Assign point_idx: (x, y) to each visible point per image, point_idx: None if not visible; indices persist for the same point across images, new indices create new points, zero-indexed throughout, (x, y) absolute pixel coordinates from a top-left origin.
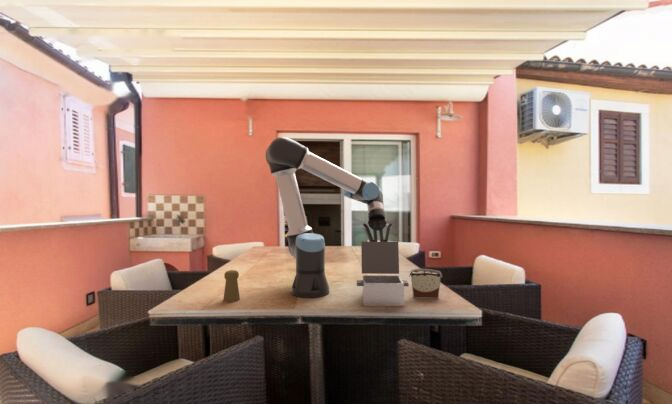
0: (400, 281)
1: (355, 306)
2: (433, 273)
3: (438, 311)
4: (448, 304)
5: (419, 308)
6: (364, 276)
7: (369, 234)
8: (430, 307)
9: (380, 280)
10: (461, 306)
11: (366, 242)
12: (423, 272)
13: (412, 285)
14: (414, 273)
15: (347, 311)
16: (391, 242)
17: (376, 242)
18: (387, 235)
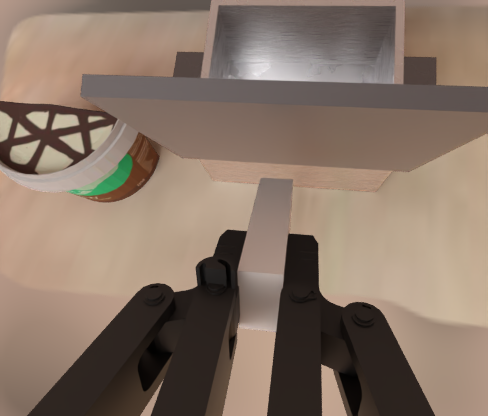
0: (214, 40)
1: None
2: (10, 117)
3: (131, 14)
4: (66, 78)
5: (181, 40)
6: None
7: (411, 410)
8: (140, 49)
9: None
10: (35, 59)
11: (452, 90)
12: (49, 140)
13: (143, 137)
14: (106, 118)
15: (447, 8)
16: (158, 81)
17: (327, 85)
18: (102, 351)
